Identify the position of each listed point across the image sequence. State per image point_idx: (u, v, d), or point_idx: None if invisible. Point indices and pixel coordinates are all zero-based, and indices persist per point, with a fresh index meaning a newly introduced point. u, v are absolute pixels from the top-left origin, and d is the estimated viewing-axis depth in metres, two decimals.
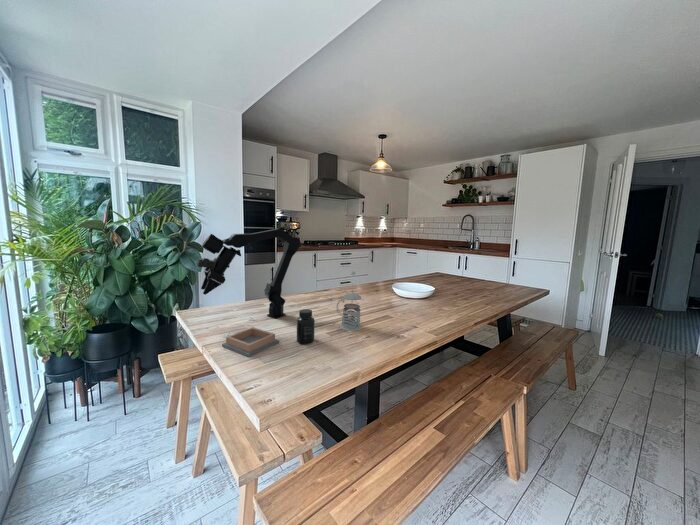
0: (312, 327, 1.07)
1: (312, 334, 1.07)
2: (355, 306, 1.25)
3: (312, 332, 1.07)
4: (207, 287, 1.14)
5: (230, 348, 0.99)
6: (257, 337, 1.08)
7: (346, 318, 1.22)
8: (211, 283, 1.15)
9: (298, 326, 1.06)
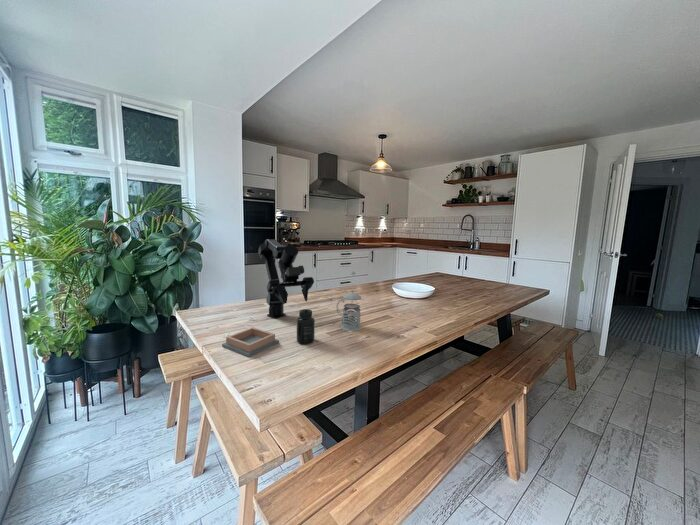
0: (312, 327, 1.07)
1: (312, 334, 1.07)
2: (355, 306, 1.25)
3: (312, 332, 1.07)
4: None
5: (230, 348, 0.99)
6: (257, 337, 1.08)
7: (346, 318, 1.22)
8: None
9: (298, 326, 1.06)
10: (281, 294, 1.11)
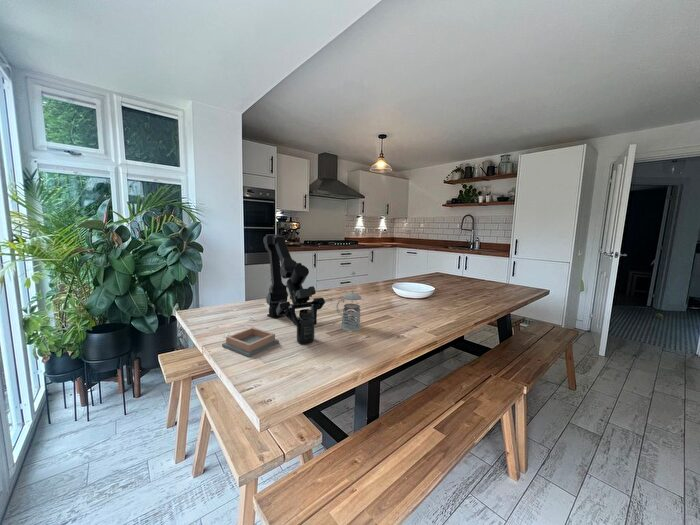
0: (312, 327, 1.07)
1: (312, 334, 1.07)
2: (355, 306, 1.25)
3: (312, 332, 1.07)
4: None
5: (230, 348, 0.99)
6: (257, 337, 1.08)
7: (346, 318, 1.22)
8: None
9: None
10: (295, 317, 1.06)
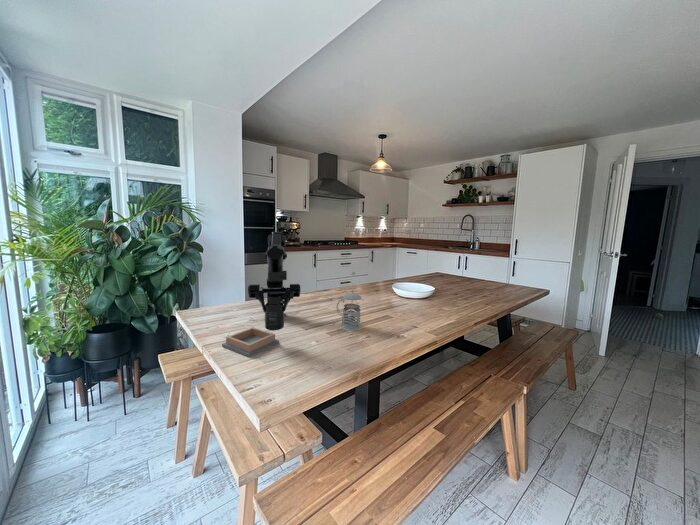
0: (278, 313, 1.01)
1: (278, 321, 1.01)
2: (355, 306, 1.25)
3: (278, 319, 1.01)
4: (287, 302, 1.04)
5: (230, 348, 0.99)
6: (257, 337, 1.08)
7: (346, 318, 1.22)
8: None
9: None
10: (262, 301, 1.02)
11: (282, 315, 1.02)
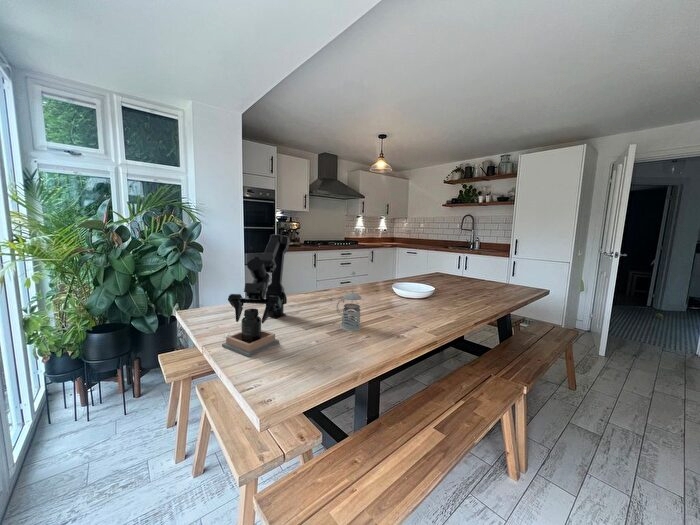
0: (251, 328, 1.00)
1: (252, 336, 1.01)
2: (355, 306, 1.25)
3: (252, 334, 1.01)
4: (266, 314, 1.03)
5: (230, 348, 0.99)
6: None
7: (346, 318, 1.22)
8: (268, 309, 1.05)
9: None
10: (236, 311, 1.03)
11: (257, 330, 1.02)
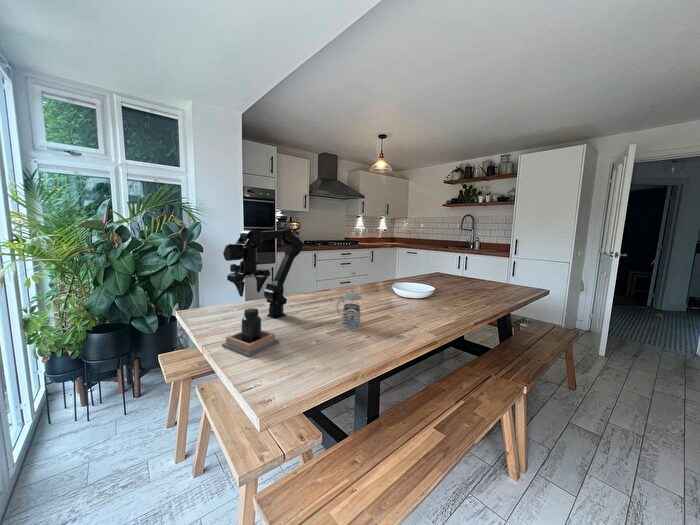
0: (251, 328, 1.00)
1: (252, 336, 1.01)
2: (355, 306, 1.25)
3: (252, 334, 1.01)
4: (238, 289, 1.19)
5: (230, 348, 0.99)
6: None
7: (346, 318, 1.22)
8: (238, 284, 1.19)
9: None
10: None
11: (257, 330, 1.02)
